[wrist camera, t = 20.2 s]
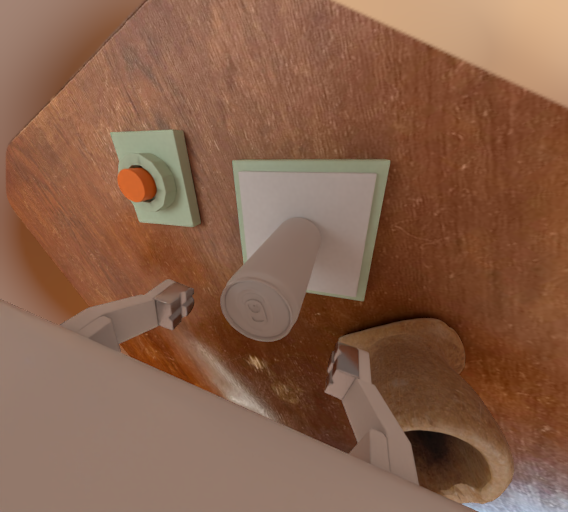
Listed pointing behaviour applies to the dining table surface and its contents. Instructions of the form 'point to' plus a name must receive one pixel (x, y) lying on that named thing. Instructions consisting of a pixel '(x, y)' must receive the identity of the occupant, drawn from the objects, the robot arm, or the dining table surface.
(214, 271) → the dining table surface
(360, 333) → the tan stone pipe
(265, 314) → the beverage can
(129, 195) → the button
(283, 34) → the dining table surface
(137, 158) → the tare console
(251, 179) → the scale
